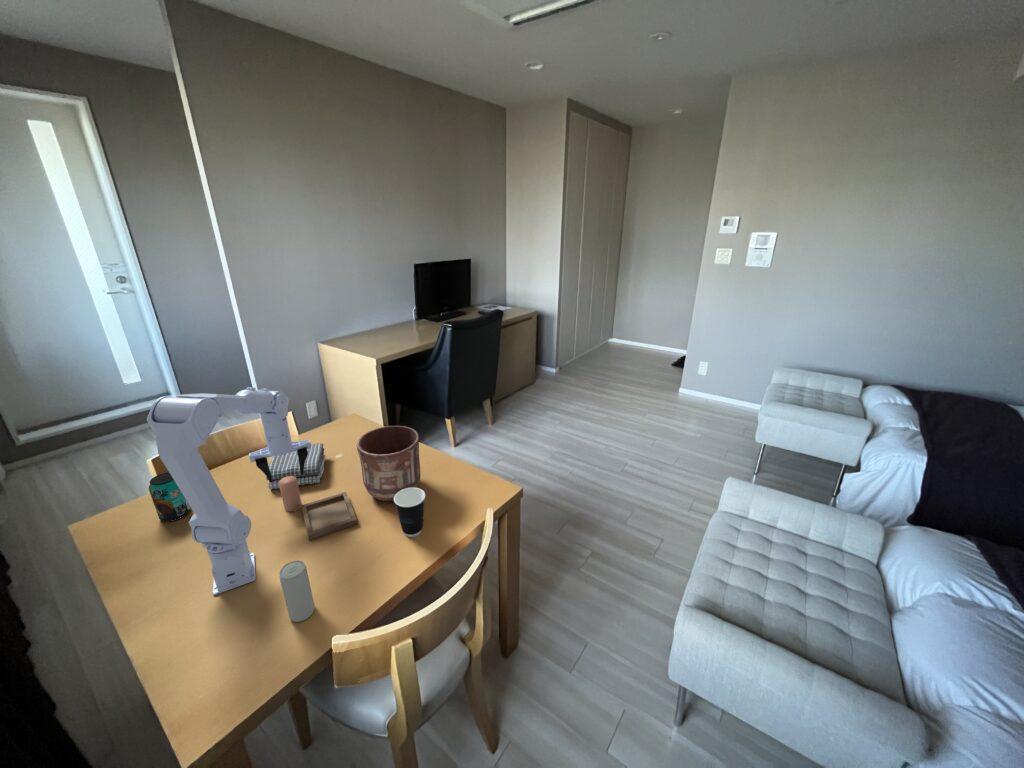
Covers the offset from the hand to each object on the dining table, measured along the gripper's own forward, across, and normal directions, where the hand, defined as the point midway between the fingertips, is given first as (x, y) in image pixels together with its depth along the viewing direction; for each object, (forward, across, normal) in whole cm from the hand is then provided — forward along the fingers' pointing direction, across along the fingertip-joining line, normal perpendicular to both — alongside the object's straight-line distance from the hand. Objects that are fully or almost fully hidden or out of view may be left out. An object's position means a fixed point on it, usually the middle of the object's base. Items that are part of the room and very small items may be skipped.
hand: (286, 476), depth 113 cm
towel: (+11, -4, -18) cm, 22 cm away
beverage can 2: (+10, +2, +39) cm, 40 cm away
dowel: (+10, 0, 0) cm, 10 cm away
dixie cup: (+10, -26, +27) cm, 39 cm away
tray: (+10, -8, +10) cm, 16 cm away
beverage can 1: (+10, +28, -13) cm, 33 cm away
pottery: (+10, -27, +7) cm, 30 cm away
